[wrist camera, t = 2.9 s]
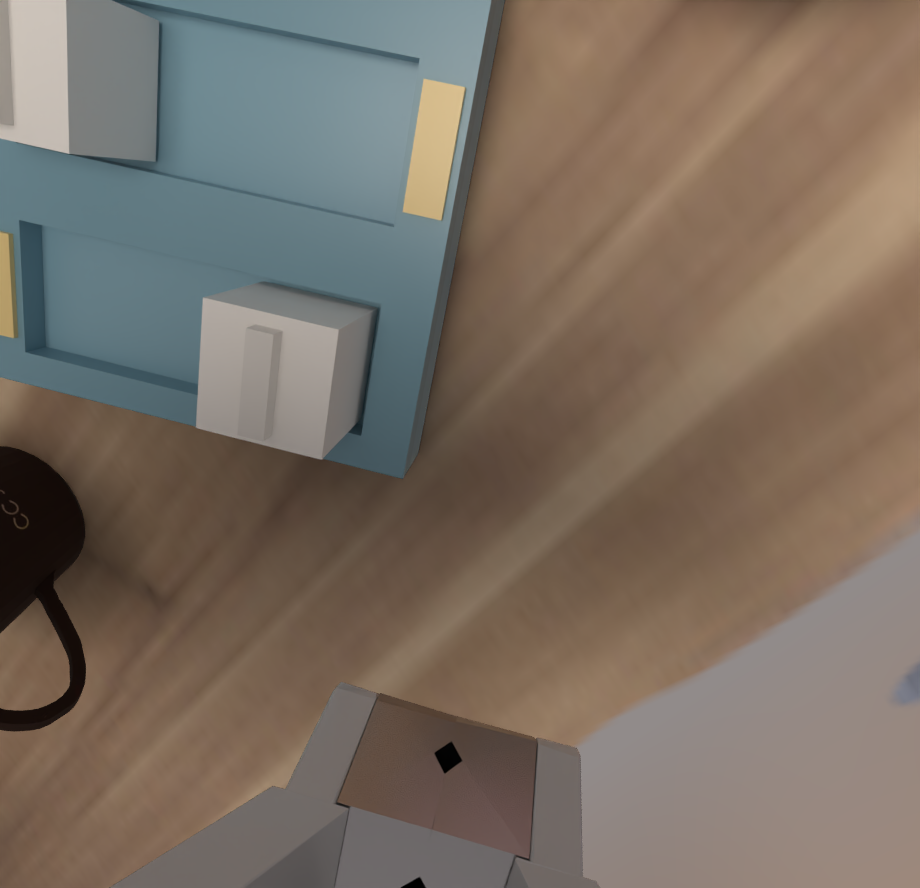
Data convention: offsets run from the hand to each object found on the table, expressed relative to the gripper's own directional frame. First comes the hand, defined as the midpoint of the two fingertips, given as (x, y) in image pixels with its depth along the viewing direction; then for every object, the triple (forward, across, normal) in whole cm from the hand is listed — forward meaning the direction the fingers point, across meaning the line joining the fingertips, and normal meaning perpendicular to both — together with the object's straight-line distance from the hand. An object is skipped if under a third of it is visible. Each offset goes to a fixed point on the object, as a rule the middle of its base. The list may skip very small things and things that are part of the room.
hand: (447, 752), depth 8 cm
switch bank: (+17, -12, +7) cm, 22 cm away
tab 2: (+15, -7, 0) cm, 17 cm away
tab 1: (+15, -16, +7) cm, 23 cm away
